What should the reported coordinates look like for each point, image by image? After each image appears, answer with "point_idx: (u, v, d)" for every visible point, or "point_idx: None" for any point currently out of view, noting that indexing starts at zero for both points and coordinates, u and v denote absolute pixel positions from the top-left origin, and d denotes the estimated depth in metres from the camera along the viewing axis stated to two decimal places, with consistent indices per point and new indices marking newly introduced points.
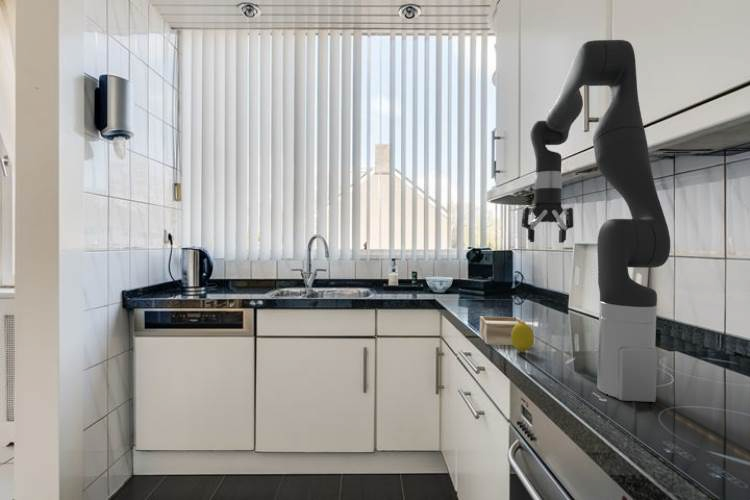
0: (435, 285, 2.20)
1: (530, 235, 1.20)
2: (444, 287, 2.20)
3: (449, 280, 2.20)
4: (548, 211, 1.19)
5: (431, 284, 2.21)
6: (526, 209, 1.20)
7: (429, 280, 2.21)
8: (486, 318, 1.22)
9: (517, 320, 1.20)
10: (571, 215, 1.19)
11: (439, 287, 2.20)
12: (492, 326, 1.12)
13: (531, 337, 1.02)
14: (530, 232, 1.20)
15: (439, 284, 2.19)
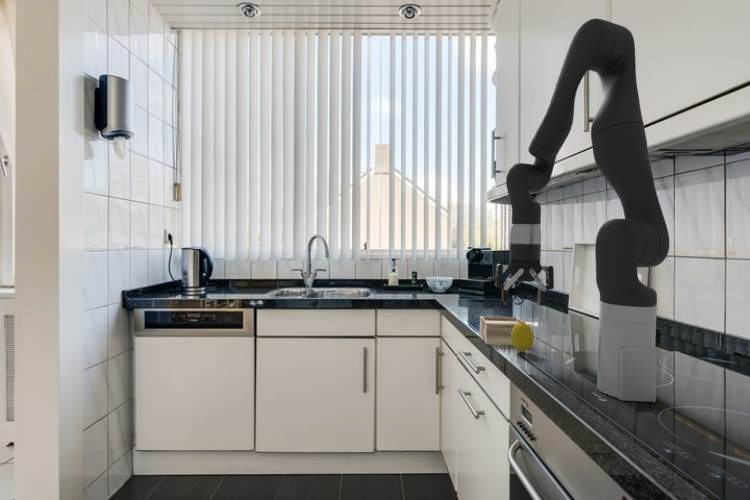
0: (435, 285, 2.20)
1: (504, 297, 1.04)
2: (444, 287, 2.20)
3: (449, 280, 2.20)
4: (525, 269, 1.02)
5: (431, 284, 2.21)
6: (499, 267, 1.03)
7: (429, 280, 2.21)
8: (486, 318, 1.22)
9: (517, 320, 1.20)
10: (551, 274, 1.02)
11: (439, 287, 2.20)
12: (492, 326, 1.12)
13: (531, 337, 1.02)
14: (504, 293, 1.04)
15: (439, 284, 2.19)
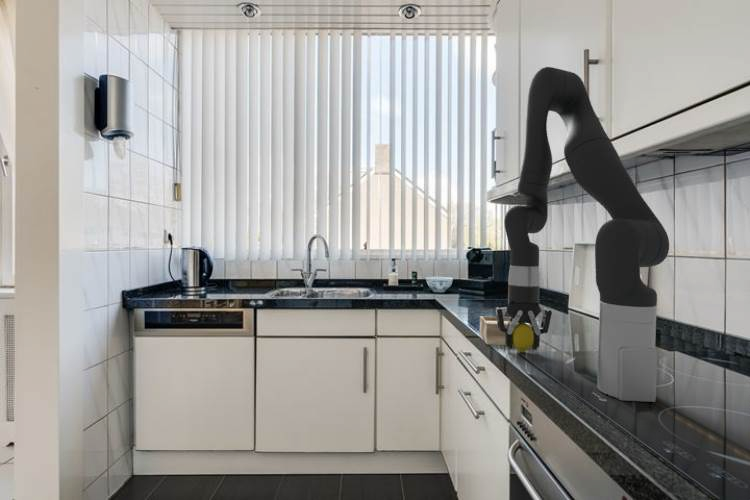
0: (435, 285, 2.20)
1: (508, 340, 1.04)
2: (444, 287, 2.20)
3: (449, 280, 2.20)
4: (524, 311, 1.03)
5: (431, 284, 2.21)
6: (498, 311, 1.03)
7: (429, 280, 2.21)
8: (486, 318, 1.22)
9: None
10: (548, 319, 1.02)
11: (439, 287, 2.20)
12: (492, 326, 1.12)
13: (531, 337, 1.02)
14: (508, 337, 1.04)
15: (439, 284, 2.19)
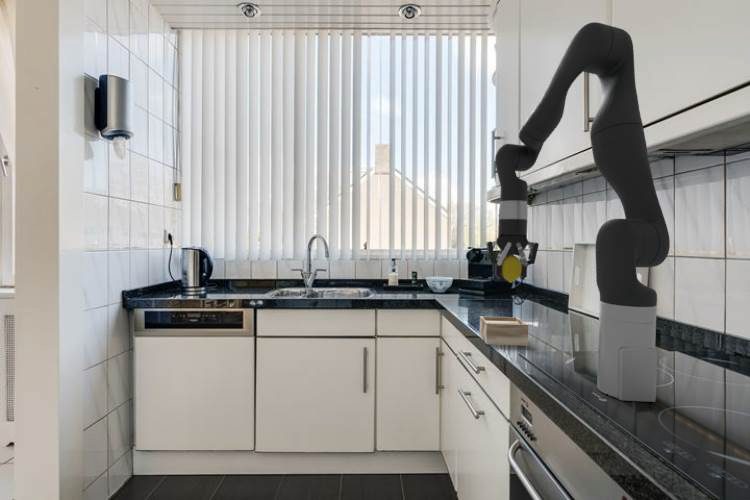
0: (435, 285, 2.20)
1: (497, 271, 1.11)
2: (444, 287, 2.20)
3: (449, 280, 2.20)
4: (512, 243, 1.10)
5: (431, 284, 2.21)
6: (489, 244, 1.10)
7: (429, 280, 2.21)
8: (486, 318, 1.22)
9: (517, 320, 1.20)
10: (535, 251, 1.09)
11: (439, 287, 2.20)
12: (492, 326, 1.12)
13: (519, 267, 1.09)
14: (497, 268, 1.11)
15: (439, 284, 2.19)
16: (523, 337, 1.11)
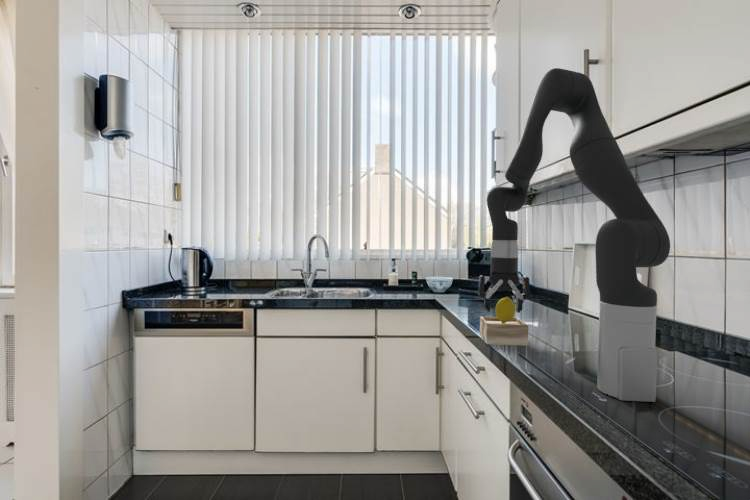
0: (435, 285, 2.20)
1: (486, 304, 1.17)
2: (444, 287, 2.20)
3: (449, 280, 2.20)
4: (504, 280, 1.16)
5: (431, 284, 2.21)
6: (481, 278, 1.16)
7: (429, 280, 2.21)
8: (486, 318, 1.22)
9: (517, 320, 1.20)
10: (527, 285, 1.15)
11: (439, 287, 2.20)
12: (492, 326, 1.12)
13: (513, 311, 1.14)
14: (486, 301, 1.17)
15: (439, 284, 2.19)
16: (524, 338, 1.11)
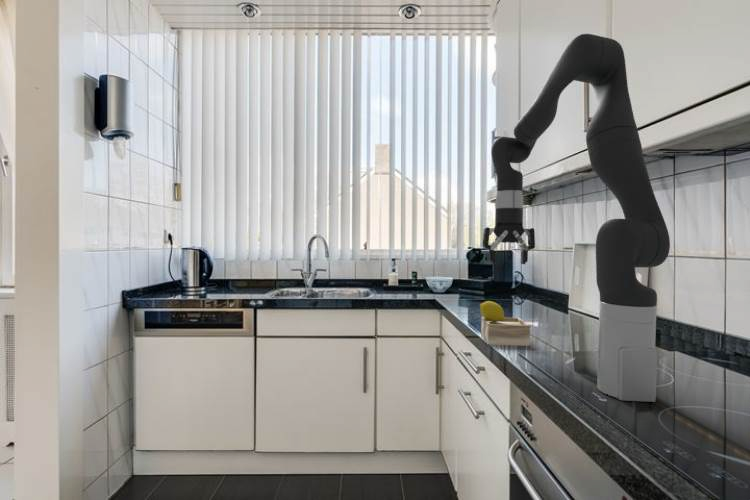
0: (435, 285, 2.20)
1: (491, 256, 1.16)
2: (444, 287, 2.20)
3: (449, 280, 2.20)
4: (509, 231, 1.15)
5: (431, 284, 2.21)
6: (486, 229, 1.15)
7: (429, 280, 2.21)
8: None
9: (519, 321, 1.20)
10: (532, 236, 1.14)
11: (439, 287, 2.20)
12: (494, 327, 1.12)
13: (494, 303, 1.19)
14: (491, 253, 1.16)
15: (439, 284, 2.19)
16: (525, 338, 1.11)
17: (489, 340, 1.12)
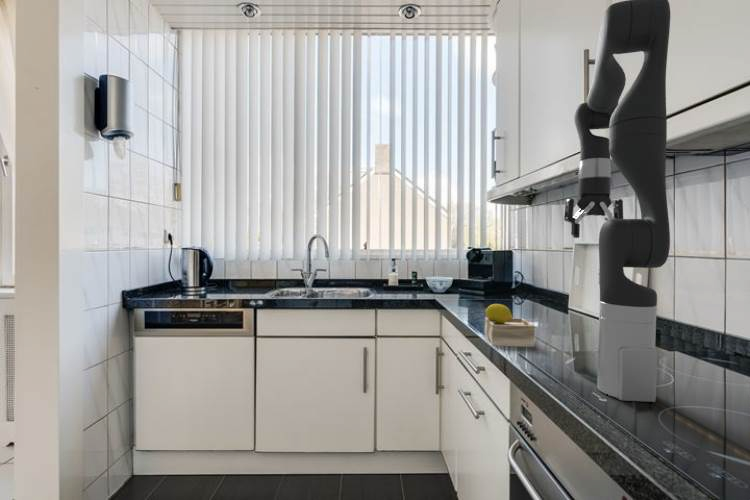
0: (435, 285, 2.20)
1: (574, 230, 1.07)
2: (444, 287, 2.20)
3: (449, 280, 2.20)
4: (595, 203, 1.07)
5: (431, 284, 2.21)
6: (570, 201, 1.07)
7: (429, 280, 2.21)
8: None
9: (523, 321, 1.19)
10: (621, 207, 1.06)
11: (439, 287, 2.20)
12: (498, 327, 1.11)
13: (498, 304, 1.18)
14: (575, 227, 1.07)
15: (439, 284, 2.19)
16: (530, 339, 1.10)
17: (493, 341, 1.11)
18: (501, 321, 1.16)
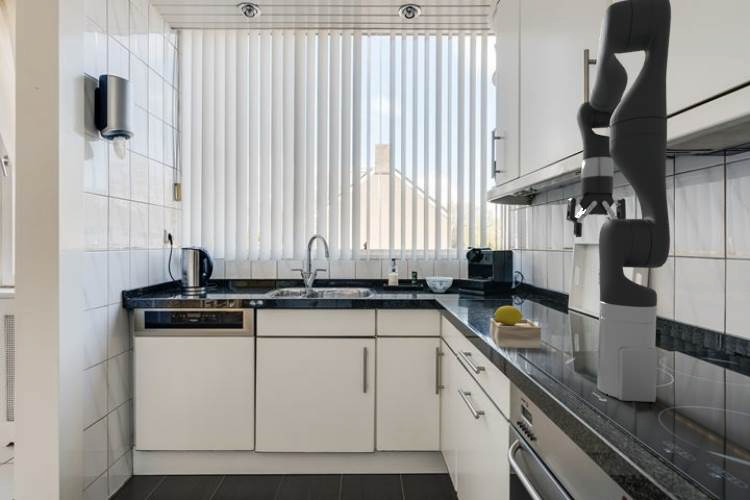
0: (435, 285, 2.20)
1: (577, 229, 1.07)
2: (444, 287, 2.20)
3: (449, 280, 2.20)
4: (597, 202, 1.06)
5: (431, 284, 2.21)
6: (573, 200, 1.07)
7: (429, 280, 2.21)
8: (496, 320, 1.20)
9: (528, 322, 1.17)
10: (623, 207, 1.06)
11: (439, 287, 2.20)
12: (504, 329, 1.09)
13: (506, 306, 1.16)
14: (577, 226, 1.07)
15: (439, 284, 2.19)
16: (536, 340, 1.09)
17: (499, 342, 1.09)
18: (512, 323, 1.14)
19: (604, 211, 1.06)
